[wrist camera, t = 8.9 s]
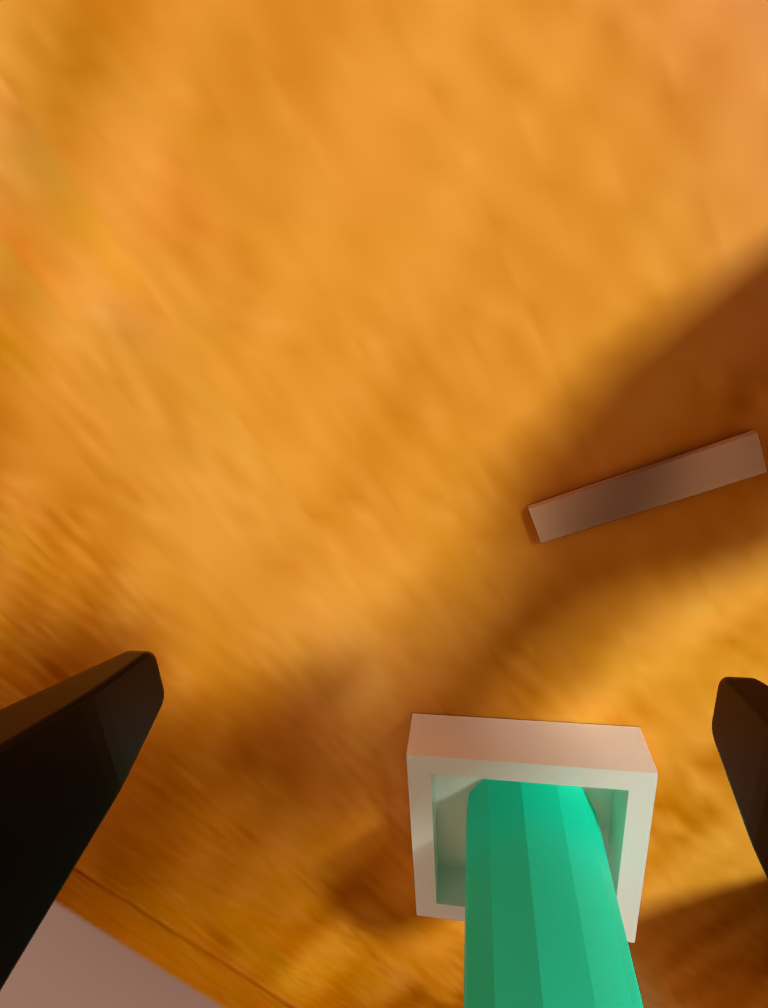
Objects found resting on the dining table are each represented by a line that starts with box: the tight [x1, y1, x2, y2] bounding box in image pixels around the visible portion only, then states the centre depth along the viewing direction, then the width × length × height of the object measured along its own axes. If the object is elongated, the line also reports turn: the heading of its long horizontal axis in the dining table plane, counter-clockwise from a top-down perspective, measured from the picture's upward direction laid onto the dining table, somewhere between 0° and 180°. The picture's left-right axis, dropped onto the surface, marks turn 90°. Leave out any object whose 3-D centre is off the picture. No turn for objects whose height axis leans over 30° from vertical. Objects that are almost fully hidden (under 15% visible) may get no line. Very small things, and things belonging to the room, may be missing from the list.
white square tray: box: [406, 713, 658, 943], centre depth 24 cm, size 10×11×3 cm
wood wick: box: [528, 431, 767, 543], centre depth 19 cm, size 8×2×1 cm, turn 114°
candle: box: [464, 779, 644, 1008], centre depth 19 cm, size 6×6×12 cm
